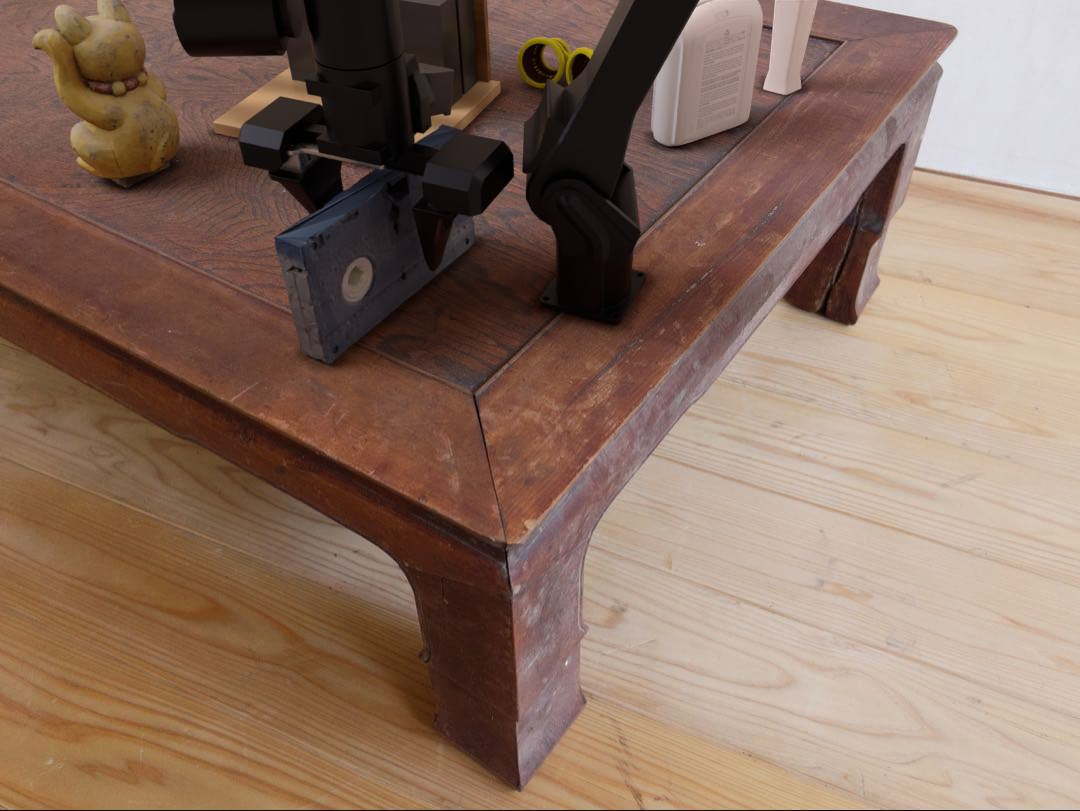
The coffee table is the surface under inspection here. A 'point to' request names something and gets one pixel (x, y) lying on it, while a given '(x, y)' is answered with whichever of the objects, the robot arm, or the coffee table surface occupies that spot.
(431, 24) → the tape rack
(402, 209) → the vhs cassette tape
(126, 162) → the decorative figurine
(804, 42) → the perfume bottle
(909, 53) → the coffee table surface
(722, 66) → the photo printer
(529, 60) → the yellow hollow cylinder
